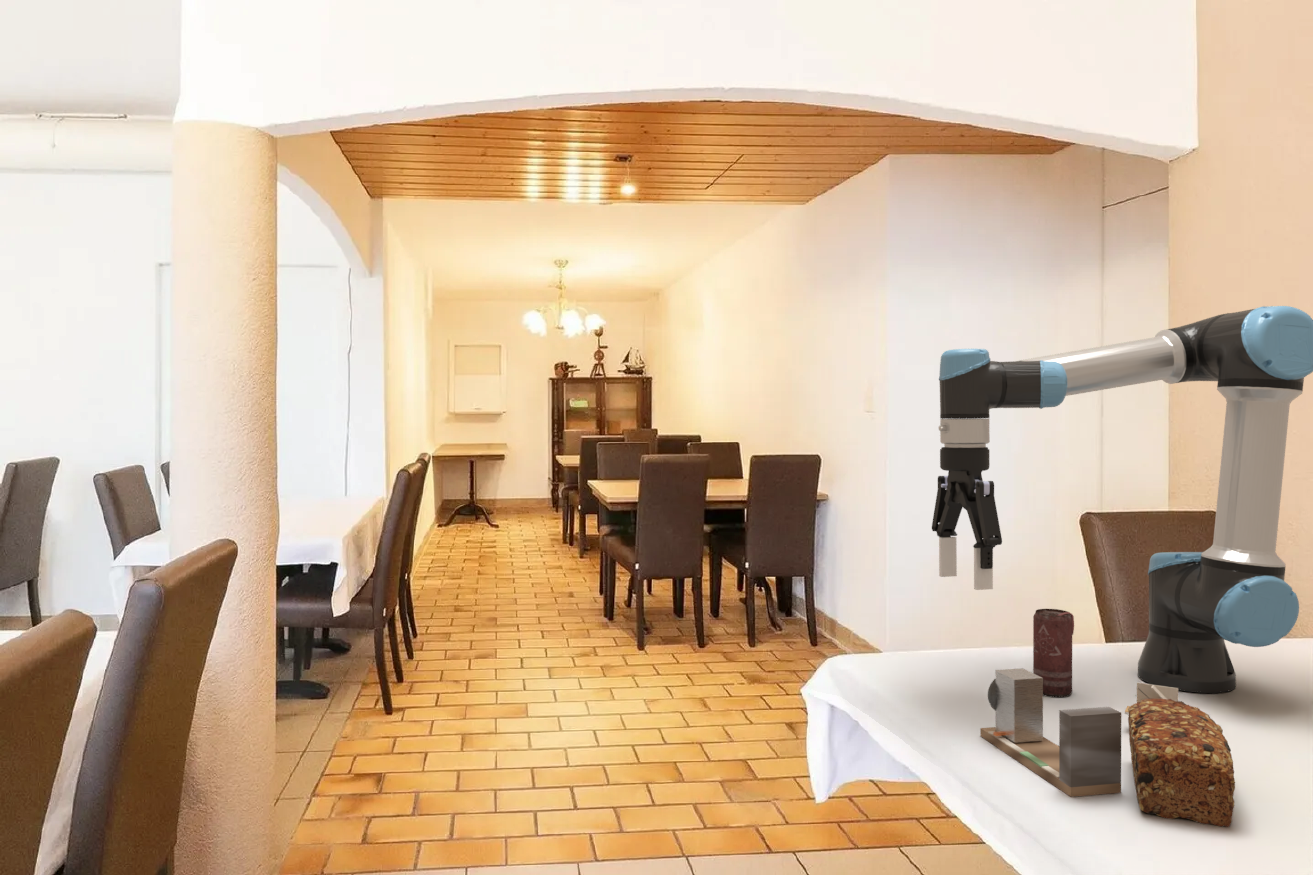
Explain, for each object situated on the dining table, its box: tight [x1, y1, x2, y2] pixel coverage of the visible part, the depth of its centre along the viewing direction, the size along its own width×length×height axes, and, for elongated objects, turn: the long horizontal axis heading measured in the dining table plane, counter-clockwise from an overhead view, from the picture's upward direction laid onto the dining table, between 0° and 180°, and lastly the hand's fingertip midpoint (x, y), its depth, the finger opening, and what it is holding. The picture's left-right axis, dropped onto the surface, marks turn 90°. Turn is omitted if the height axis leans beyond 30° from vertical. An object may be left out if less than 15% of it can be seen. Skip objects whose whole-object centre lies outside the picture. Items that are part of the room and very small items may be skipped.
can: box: [1032, 608, 1075, 698], centre depth 157 cm, size 6×6×14 cm
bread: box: [1127, 699, 1236, 828], centre depth 116 cm, size 19×11×10 cm, turn 155°
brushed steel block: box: [987, 667, 1044, 743], centre depth 133 cm, size 6×7×9 cm
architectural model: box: [1124, 682, 1179, 715], centre depth 137 cm, size 3×7×7 cm, turn 56°
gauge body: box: [979, 706, 1122, 798], centre depth 126 cm, size 22×7×10 cm, turn 10°
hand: (965, 582), depth 148 cm, fingers open, 11 cm apart
